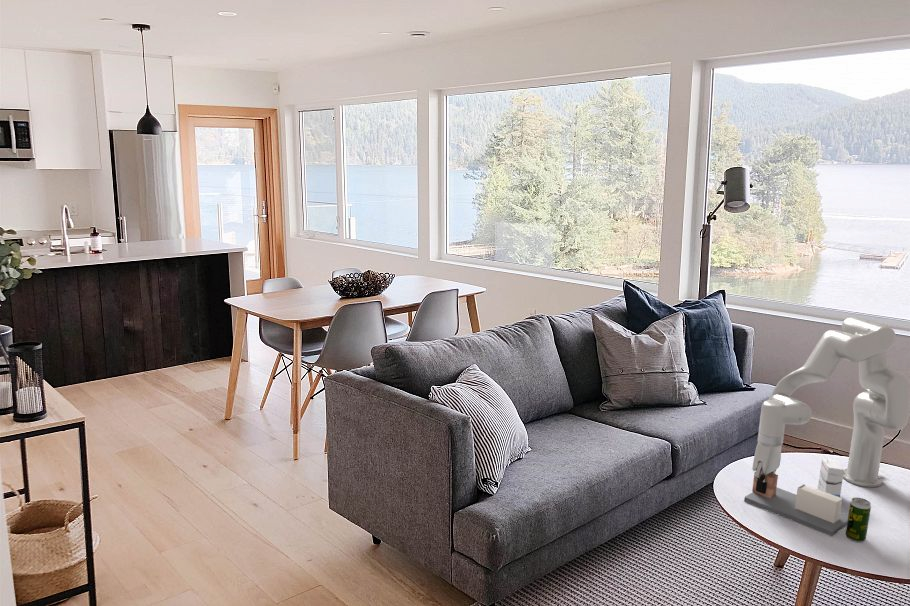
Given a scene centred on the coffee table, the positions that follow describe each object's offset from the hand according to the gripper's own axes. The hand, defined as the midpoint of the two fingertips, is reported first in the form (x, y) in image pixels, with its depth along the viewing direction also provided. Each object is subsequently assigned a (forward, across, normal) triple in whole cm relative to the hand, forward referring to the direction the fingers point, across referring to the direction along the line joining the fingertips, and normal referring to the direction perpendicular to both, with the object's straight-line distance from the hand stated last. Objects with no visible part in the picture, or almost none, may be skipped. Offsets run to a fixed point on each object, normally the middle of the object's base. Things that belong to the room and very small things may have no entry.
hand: (764, 489), depth 244 cm
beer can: (+3, +3, +30) cm, 31 cm away
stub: (+1, 0, 0) cm, 1 cm away
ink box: (+3, -18, +13) cm, 23 cm away
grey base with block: (+3, 0, +11) cm, 12 cm away
